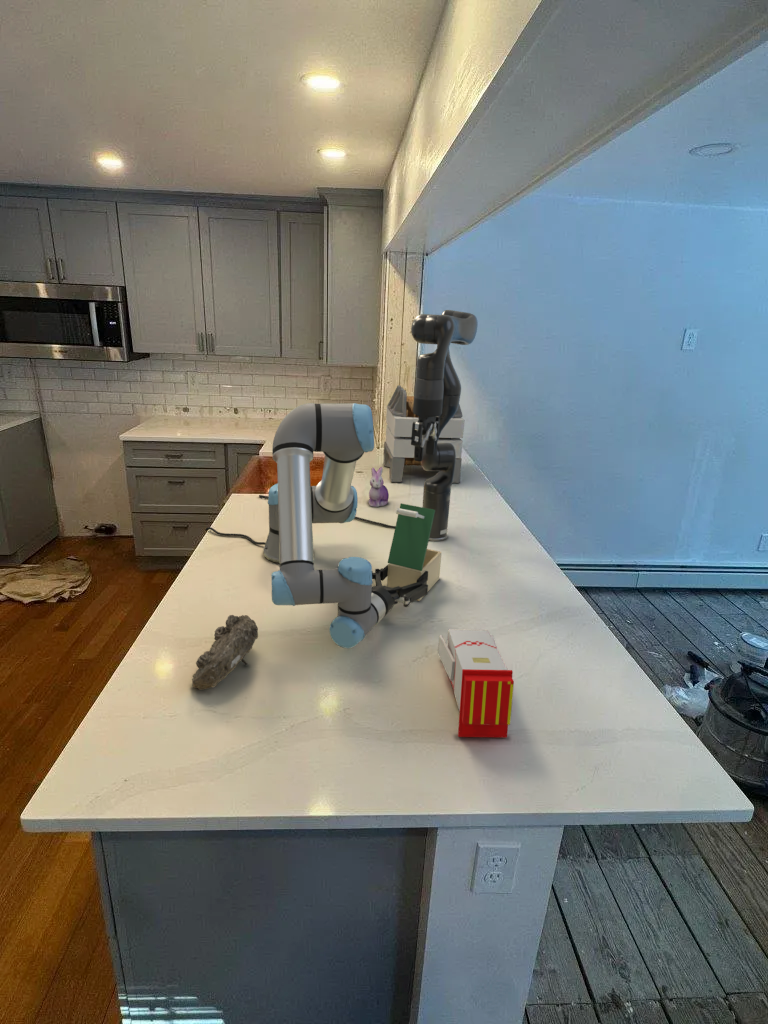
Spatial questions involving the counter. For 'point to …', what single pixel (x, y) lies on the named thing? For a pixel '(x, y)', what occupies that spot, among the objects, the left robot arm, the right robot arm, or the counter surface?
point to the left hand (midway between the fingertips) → (408, 571)
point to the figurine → (377, 489)
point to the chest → (415, 572)
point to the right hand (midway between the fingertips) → (424, 457)
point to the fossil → (225, 651)
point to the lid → (411, 536)
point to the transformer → (400, 434)
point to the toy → (478, 682)
